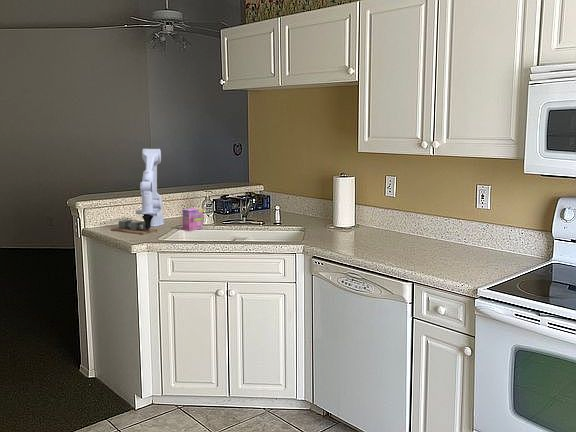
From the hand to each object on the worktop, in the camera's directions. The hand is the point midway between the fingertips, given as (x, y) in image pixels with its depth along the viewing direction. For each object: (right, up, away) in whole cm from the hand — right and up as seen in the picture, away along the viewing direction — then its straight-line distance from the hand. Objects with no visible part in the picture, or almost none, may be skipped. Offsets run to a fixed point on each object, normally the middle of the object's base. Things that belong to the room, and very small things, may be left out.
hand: (148, 228), depth 316 cm
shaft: (-9, 0, +5) cm, 10 cm away
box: (+22, -1, +12) cm, 25 cm away
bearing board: (-9, -1, +5) cm, 10 cm away
